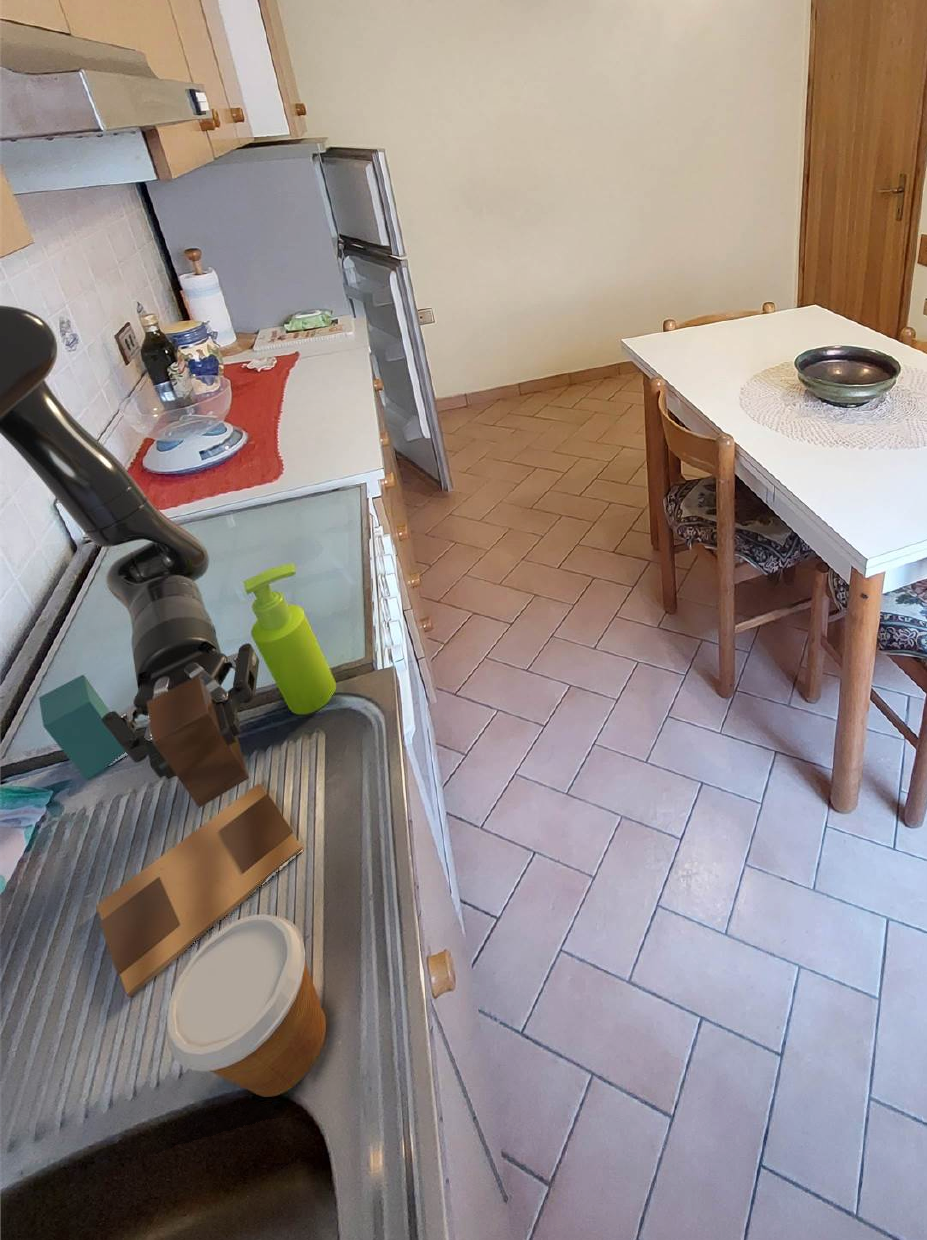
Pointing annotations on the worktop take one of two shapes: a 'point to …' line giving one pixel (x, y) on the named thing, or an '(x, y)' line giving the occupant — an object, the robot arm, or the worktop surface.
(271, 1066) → the disposable coffee cup
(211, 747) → the brown wooden block
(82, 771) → the tall teal prism
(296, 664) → the soap dispenser
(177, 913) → the word board
